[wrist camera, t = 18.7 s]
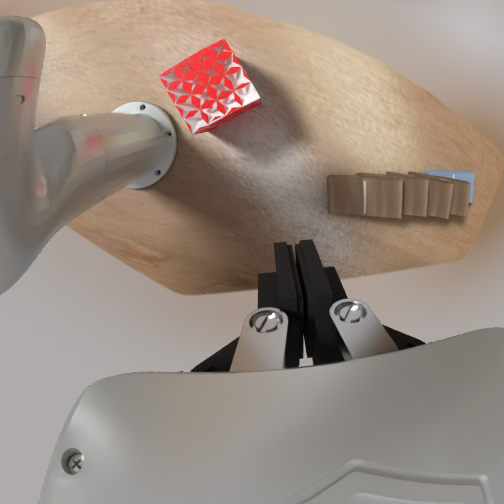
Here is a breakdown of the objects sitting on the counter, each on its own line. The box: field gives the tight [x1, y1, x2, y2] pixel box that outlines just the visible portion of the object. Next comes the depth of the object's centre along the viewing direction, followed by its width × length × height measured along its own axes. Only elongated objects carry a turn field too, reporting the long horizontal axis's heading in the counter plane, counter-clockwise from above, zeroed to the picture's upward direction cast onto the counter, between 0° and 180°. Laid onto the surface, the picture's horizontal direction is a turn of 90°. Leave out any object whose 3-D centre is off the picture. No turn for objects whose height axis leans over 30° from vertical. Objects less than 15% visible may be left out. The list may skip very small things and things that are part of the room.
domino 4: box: [408, 172, 471, 217], centre depth 32 cm, size 2×5×10 cm
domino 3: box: [386, 172, 453, 219], centre depth 32 cm, size 2×5×10 cm
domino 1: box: [327, 175, 403, 219], centre depth 33 cm, size 2×5×10 cm
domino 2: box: [356, 173, 429, 217], centre depth 33 cm, size 2×5×10 cm
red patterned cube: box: [158, 38, 261, 135], centre depth 27 cm, size 8×8×8 cm
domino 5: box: [424, 170, 475, 203], centre depth 33 cm, size 2×5×10 cm
